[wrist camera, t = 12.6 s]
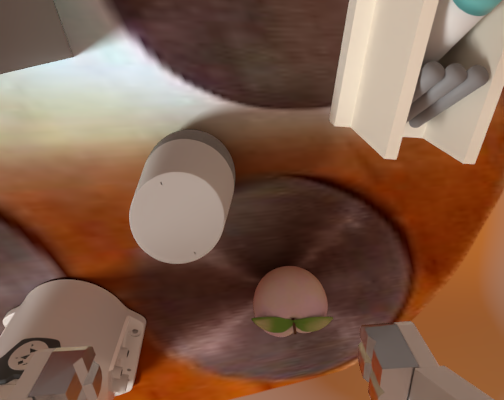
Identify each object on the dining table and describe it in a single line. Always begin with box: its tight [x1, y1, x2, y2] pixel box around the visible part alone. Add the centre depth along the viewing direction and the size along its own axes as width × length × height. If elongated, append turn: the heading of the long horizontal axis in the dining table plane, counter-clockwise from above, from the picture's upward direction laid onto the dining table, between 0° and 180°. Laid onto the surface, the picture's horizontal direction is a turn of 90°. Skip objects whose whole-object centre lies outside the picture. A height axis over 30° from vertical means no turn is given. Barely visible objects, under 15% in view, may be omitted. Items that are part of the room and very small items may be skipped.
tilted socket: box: [329, 0, 504, 164], centre depth 32 cm, size 14×11×12 cm
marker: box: [421, 0, 502, 68], centre depth 29 cm, size 3×3×11 cm
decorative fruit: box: [252, 266, 333, 337], centre depth 44 cm, size 9×8×10 cm
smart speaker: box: [129, 130, 235, 264], centre depth 35 cm, size 10×9×14 cm
